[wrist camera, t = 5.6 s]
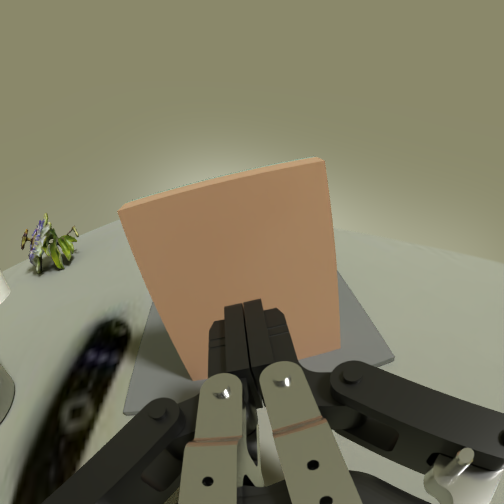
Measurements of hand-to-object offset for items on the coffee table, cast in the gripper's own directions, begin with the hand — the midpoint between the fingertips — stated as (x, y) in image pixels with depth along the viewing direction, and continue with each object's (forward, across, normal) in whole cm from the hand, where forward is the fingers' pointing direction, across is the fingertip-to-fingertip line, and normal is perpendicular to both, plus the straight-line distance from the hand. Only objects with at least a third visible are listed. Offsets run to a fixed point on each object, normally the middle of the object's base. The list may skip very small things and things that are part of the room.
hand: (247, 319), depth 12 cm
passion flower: (+36, +36, +8) cm, 52 cm away
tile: (+4, 0, +7) cm, 8 cm away
